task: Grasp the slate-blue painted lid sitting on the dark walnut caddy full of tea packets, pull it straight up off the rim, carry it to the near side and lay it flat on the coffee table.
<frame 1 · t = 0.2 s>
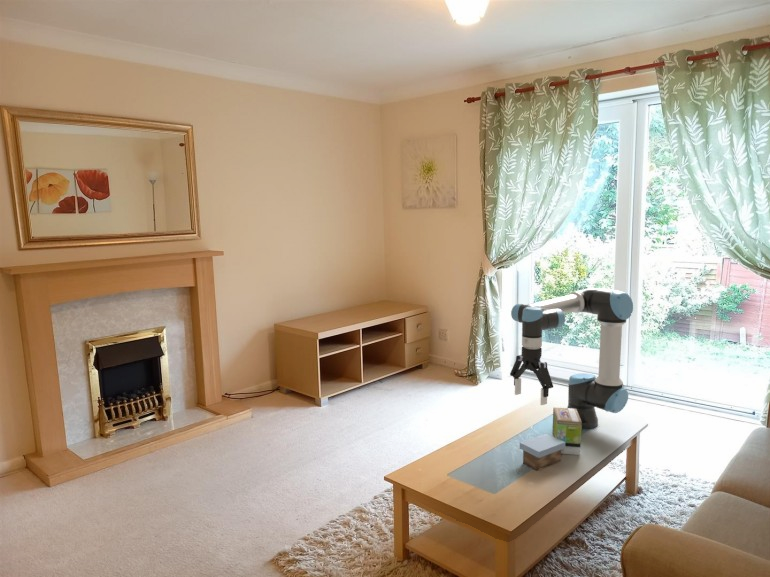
hand: (530, 399, 209), 26 cm above the table, fingers open, 13 cm apart
caddy: (542, 462, 212), on the table
lid: (542, 448, 211), point 6 cm above the table, touching caddy
tea box: (565, 447, 225), on the table
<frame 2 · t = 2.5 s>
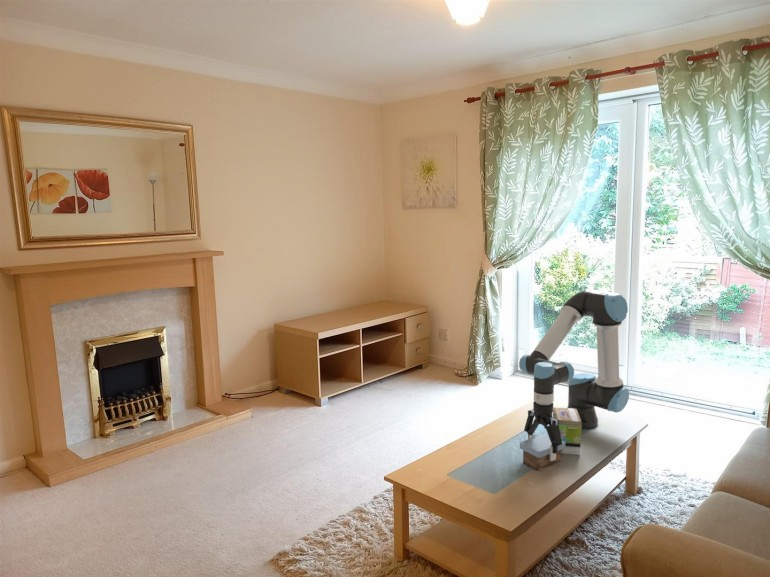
hand: (542, 454, 211), 3 cm above the table, fingers closed on lid, 10 cm apart
lid: (542, 448, 211), point 6 cm above the table, touching caddy, gripper
everything else where it was.
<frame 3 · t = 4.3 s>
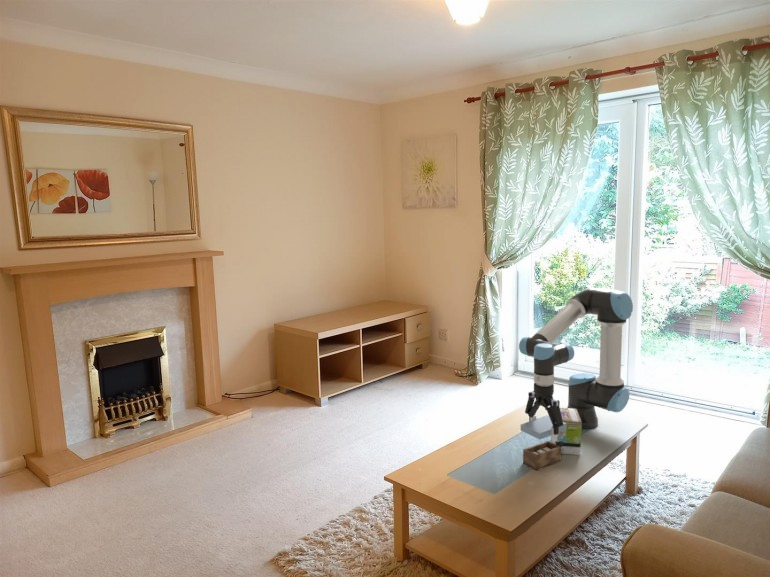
hand: (543, 436, 211), 11 cm above the table, fingers closed on lid, 10 cm apart
lid: (543, 429, 210), point 14 cm above the table, touching gripper
everything else where it was.
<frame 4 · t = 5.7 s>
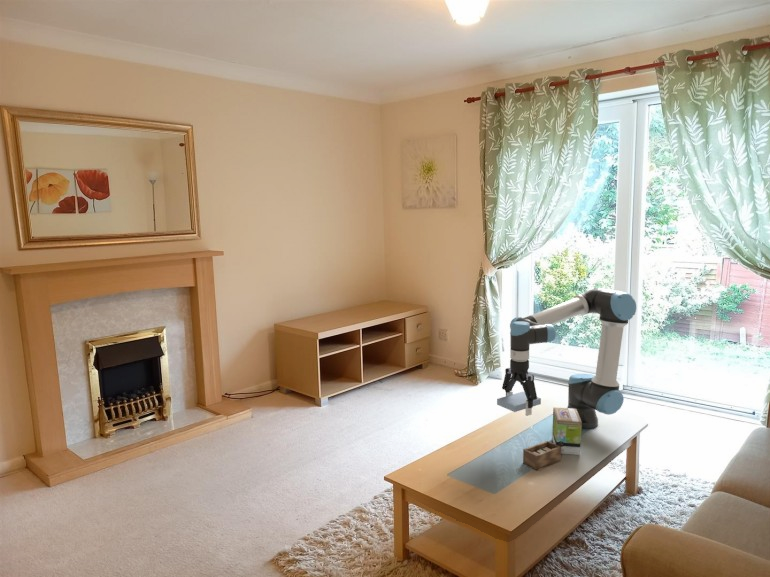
hand: (518, 410, 220), 17 cm above the table, fingers closed on lid, 10 cm apart
lid: (518, 404, 220), point 20 cm above the table, touching gripper
everything else where it was.
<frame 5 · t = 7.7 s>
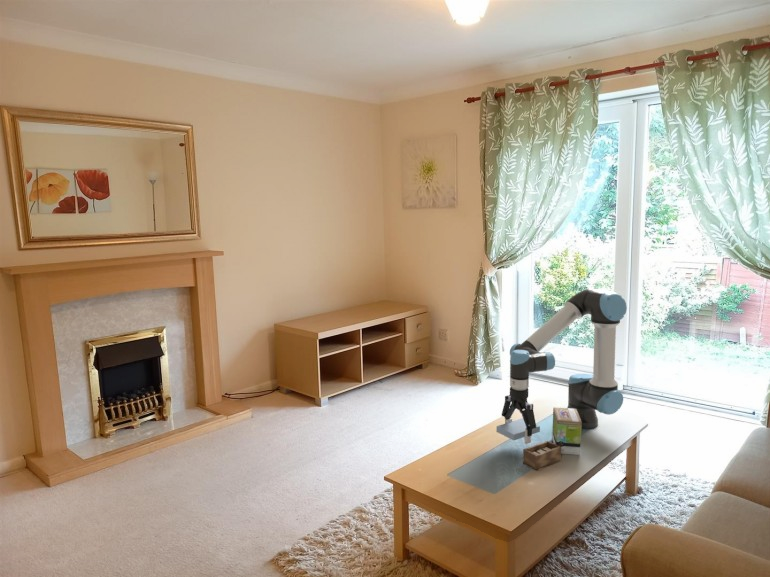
hand: (518, 438, 222), 5 cm above the table, fingers closed on lid, 10 cm apart
lid: (518, 431, 222), point 8 cm above the table, touching gripper
everything else where it was.
when the fingers open (1 cm above the table, at t = 9.2 s): lid drops 3 cm, point 1 cm above the table.
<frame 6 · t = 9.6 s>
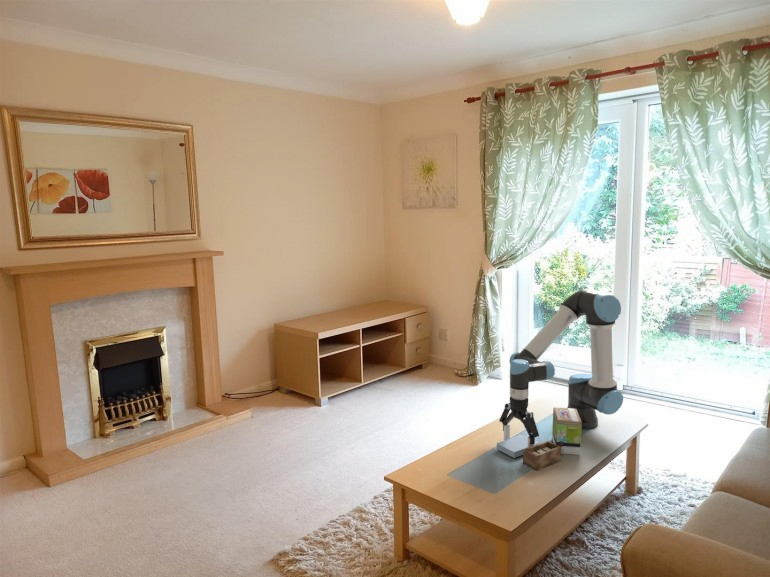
hand: (518, 445, 223), 2 cm above the table, fingers open, 13 cm apart
lid: (518, 448, 223), point 1 cm above the table
everything else where it was.
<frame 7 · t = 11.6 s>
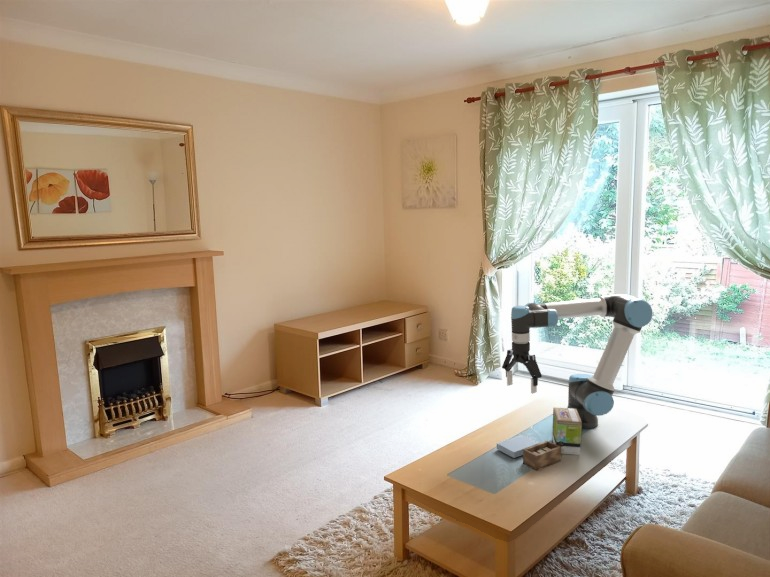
hand: (521, 388, 232), 23 cm above the table, fingers open, 13 cm apart
nothing on the table moved.
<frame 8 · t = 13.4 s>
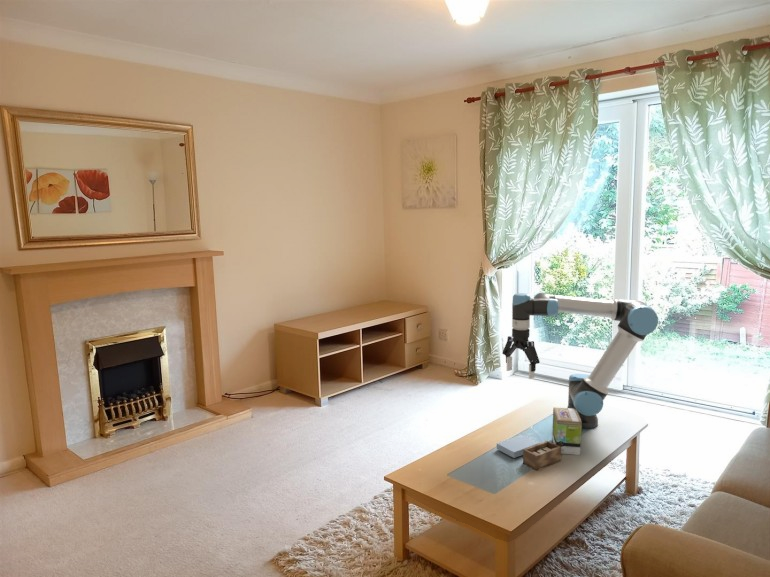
hand: (520, 374, 238), 27 cm above the table, fingers open, 13 cm apart
nothing on the table moved.
at the end: lid inside the target area (0.5 cm from its centre), point 0.6 cm above the table; lid tilted 0°; lid touching table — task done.
